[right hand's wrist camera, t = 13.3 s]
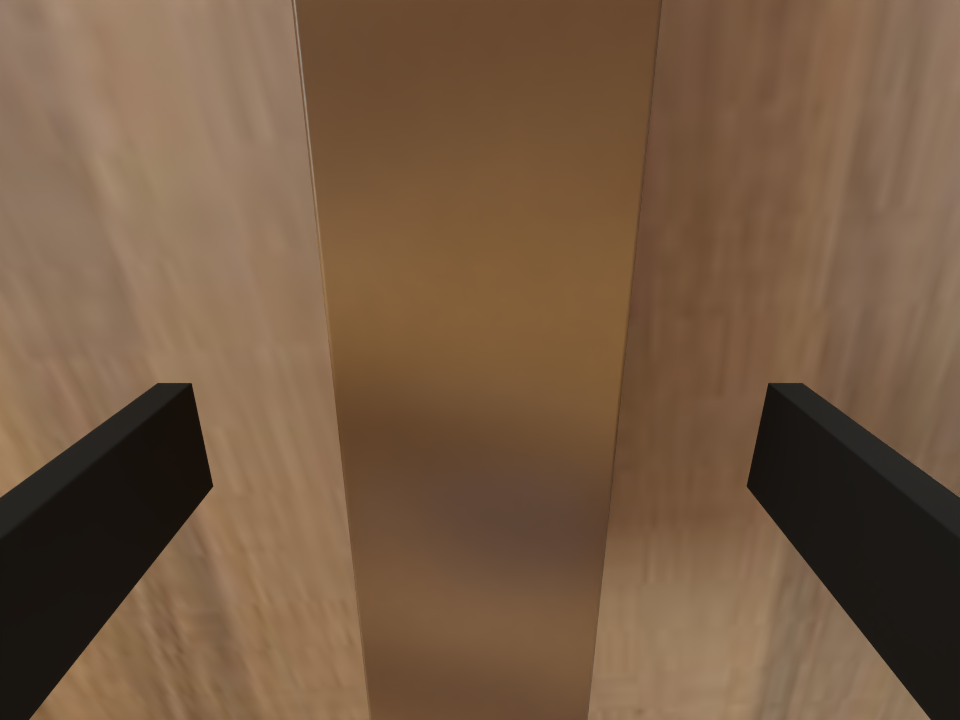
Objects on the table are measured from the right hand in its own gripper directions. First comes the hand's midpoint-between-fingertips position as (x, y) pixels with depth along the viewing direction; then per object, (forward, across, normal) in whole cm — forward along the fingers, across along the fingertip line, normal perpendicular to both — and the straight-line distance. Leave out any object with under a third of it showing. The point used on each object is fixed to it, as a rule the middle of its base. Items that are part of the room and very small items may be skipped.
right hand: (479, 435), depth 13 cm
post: (+4, 0, -20) cm, 21 cm away
